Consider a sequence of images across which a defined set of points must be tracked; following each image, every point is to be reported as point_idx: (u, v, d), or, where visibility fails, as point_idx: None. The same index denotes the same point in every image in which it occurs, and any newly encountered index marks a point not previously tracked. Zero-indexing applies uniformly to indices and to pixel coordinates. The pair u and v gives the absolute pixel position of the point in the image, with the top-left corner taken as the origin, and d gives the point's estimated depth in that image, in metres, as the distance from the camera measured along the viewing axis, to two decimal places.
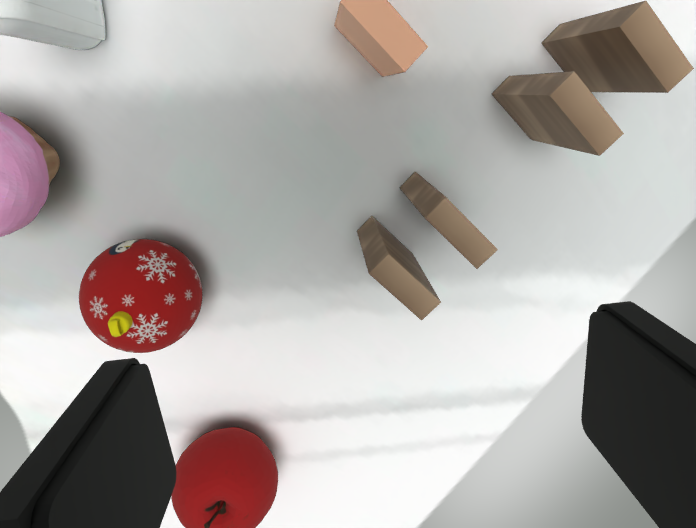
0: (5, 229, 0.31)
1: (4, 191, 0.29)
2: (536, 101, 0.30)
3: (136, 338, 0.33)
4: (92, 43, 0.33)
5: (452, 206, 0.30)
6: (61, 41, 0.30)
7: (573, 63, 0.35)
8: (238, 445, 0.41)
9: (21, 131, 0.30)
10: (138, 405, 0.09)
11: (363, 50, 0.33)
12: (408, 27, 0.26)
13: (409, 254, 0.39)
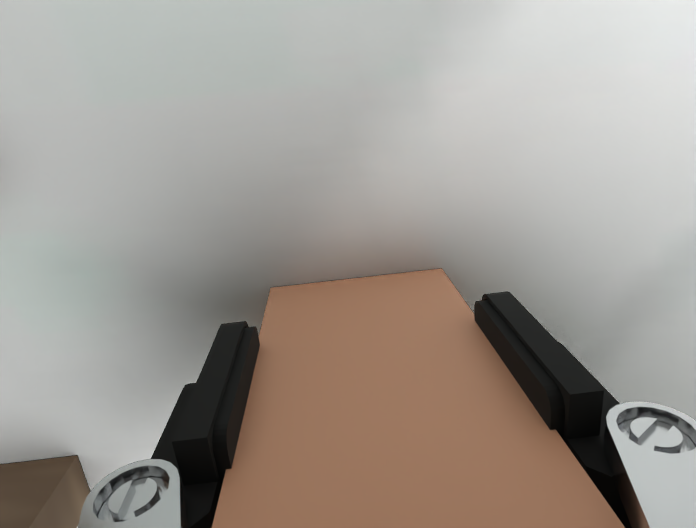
0: None
1: None
2: None
3: None
4: None
5: None
6: None
7: None
8: None
9: None
10: (255, 361, 0.10)
11: (358, 318, 0.11)
12: None
13: None
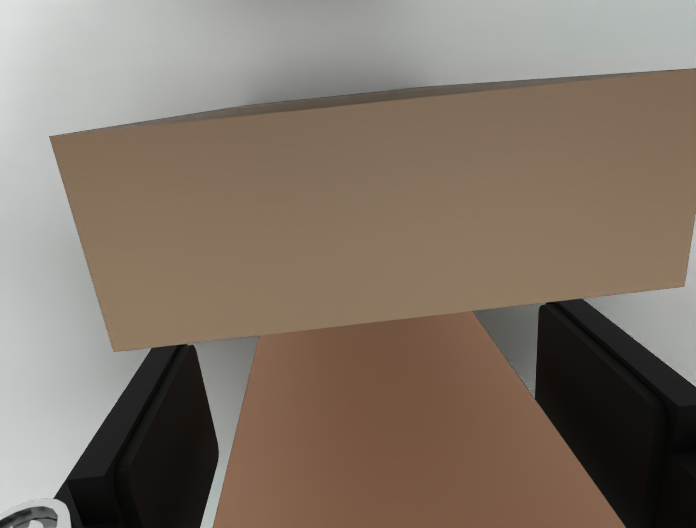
0: None
1: None
2: None
3: None
4: None
5: (607, 284, 0.04)
6: None
7: None
8: None
9: None
10: (189, 383, 0.09)
11: None
12: None
13: None
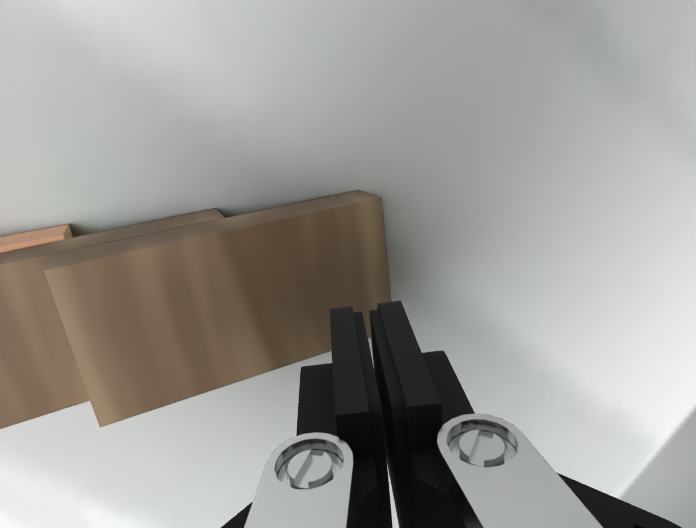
0: None
1: None
2: None
3: None
4: None
5: None
6: None
7: None
8: None
9: None
10: None
11: None
12: None
13: None
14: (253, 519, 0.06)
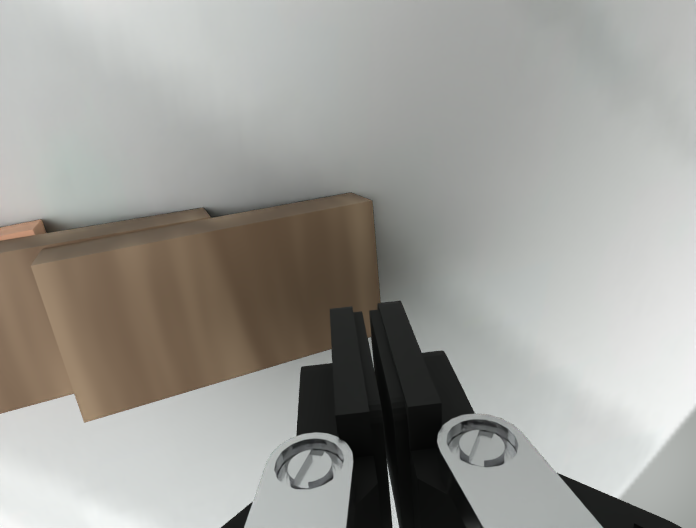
0: None
1: None
2: None
3: None
4: None
5: None
6: None
7: None
8: None
9: None
10: None
11: None
12: None
13: None
14: (253, 519, 0.06)
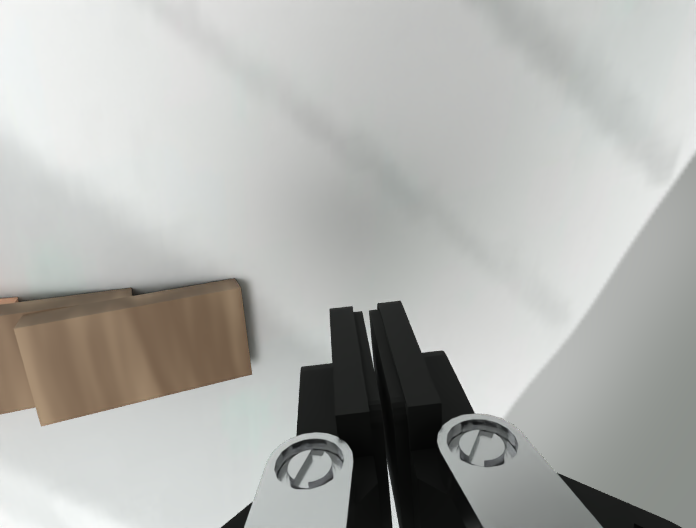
0: None
1: None
2: None
3: None
4: None
5: None
6: None
7: None
8: None
9: None
10: None
11: None
12: None
13: None
14: (253, 519, 0.06)
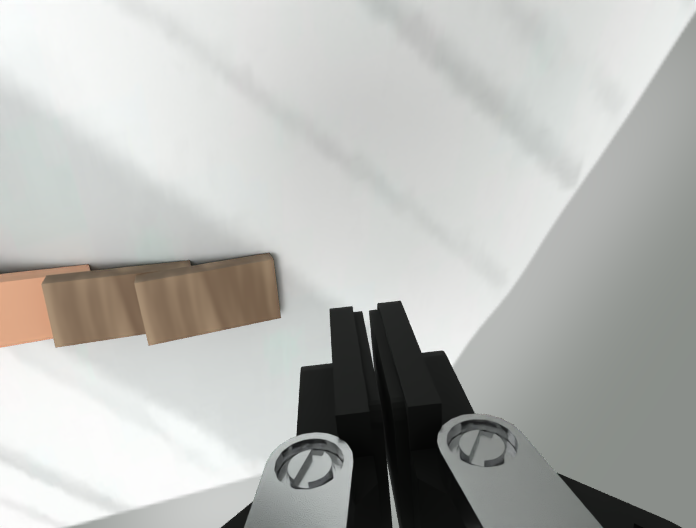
0: None
1: None
2: None
3: None
4: None
5: None
6: None
7: None
8: None
9: None
10: None
11: None
12: None
13: None
14: (253, 519, 0.06)
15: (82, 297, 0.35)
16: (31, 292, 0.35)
